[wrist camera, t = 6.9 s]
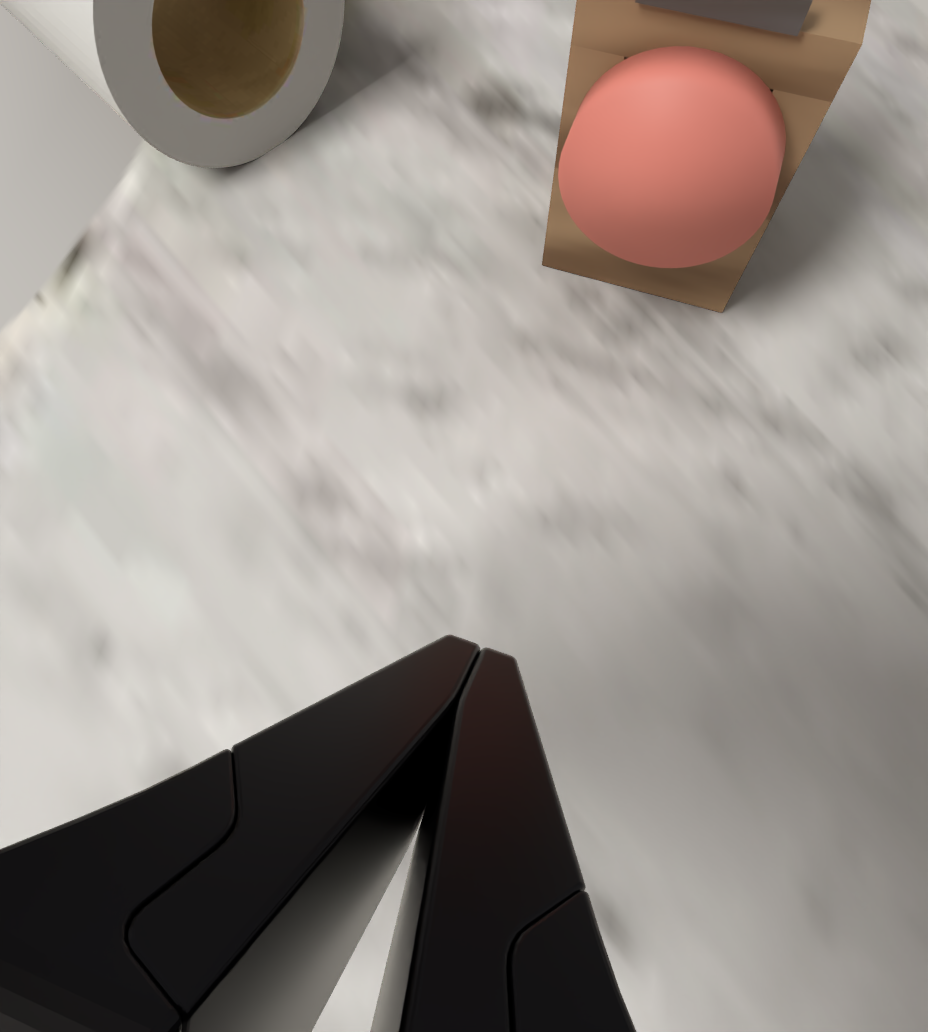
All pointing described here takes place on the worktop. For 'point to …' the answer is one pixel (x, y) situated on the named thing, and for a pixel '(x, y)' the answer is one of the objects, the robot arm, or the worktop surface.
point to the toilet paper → (197, 66)
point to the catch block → (737, 34)
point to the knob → (673, 157)
